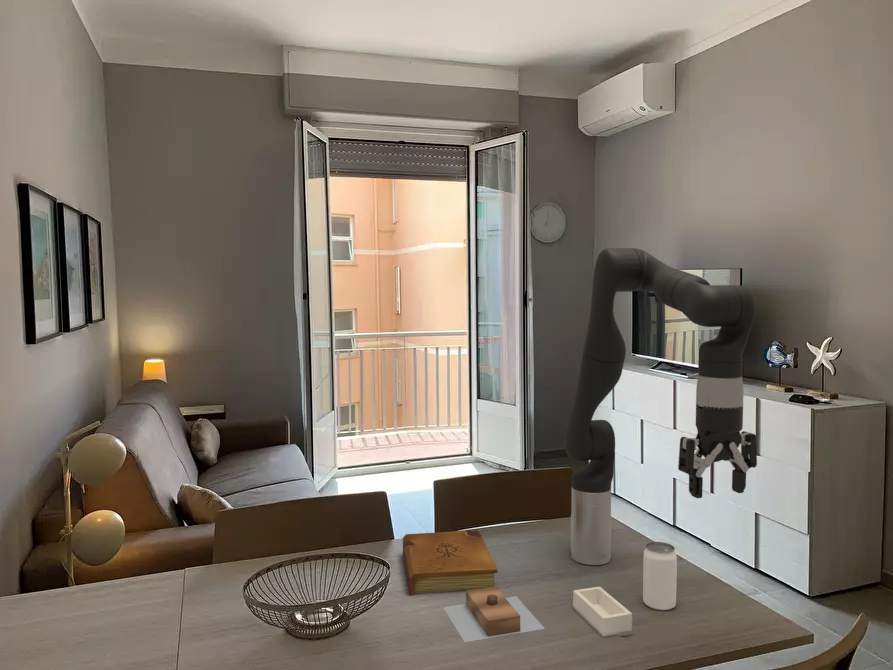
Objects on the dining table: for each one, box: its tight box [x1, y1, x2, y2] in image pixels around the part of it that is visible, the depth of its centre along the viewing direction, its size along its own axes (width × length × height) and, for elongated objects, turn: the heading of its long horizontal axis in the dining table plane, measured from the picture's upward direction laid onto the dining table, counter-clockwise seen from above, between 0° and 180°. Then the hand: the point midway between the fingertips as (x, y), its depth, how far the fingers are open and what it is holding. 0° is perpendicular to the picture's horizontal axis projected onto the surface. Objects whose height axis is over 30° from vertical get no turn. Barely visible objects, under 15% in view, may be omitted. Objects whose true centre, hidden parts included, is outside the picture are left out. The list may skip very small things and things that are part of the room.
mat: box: [442, 595, 546, 643], centre depth 133 cm, size 14×16×1 cm
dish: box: [572, 586, 633, 638], centre depth 132 cm, size 12×6×4 cm, turn 17°
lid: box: [465, 586, 520, 637], centre depth 133 cm, size 13×6×4 cm, turn 17°
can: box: [642, 541, 678, 611], centre depth 139 cm, size 6×6×12 cm
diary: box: [402, 529, 498, 596], centre depth 155 cm, size 23×19×6 cm
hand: (717, 494), depth 117 cm, fingers open, 8 cm apart
